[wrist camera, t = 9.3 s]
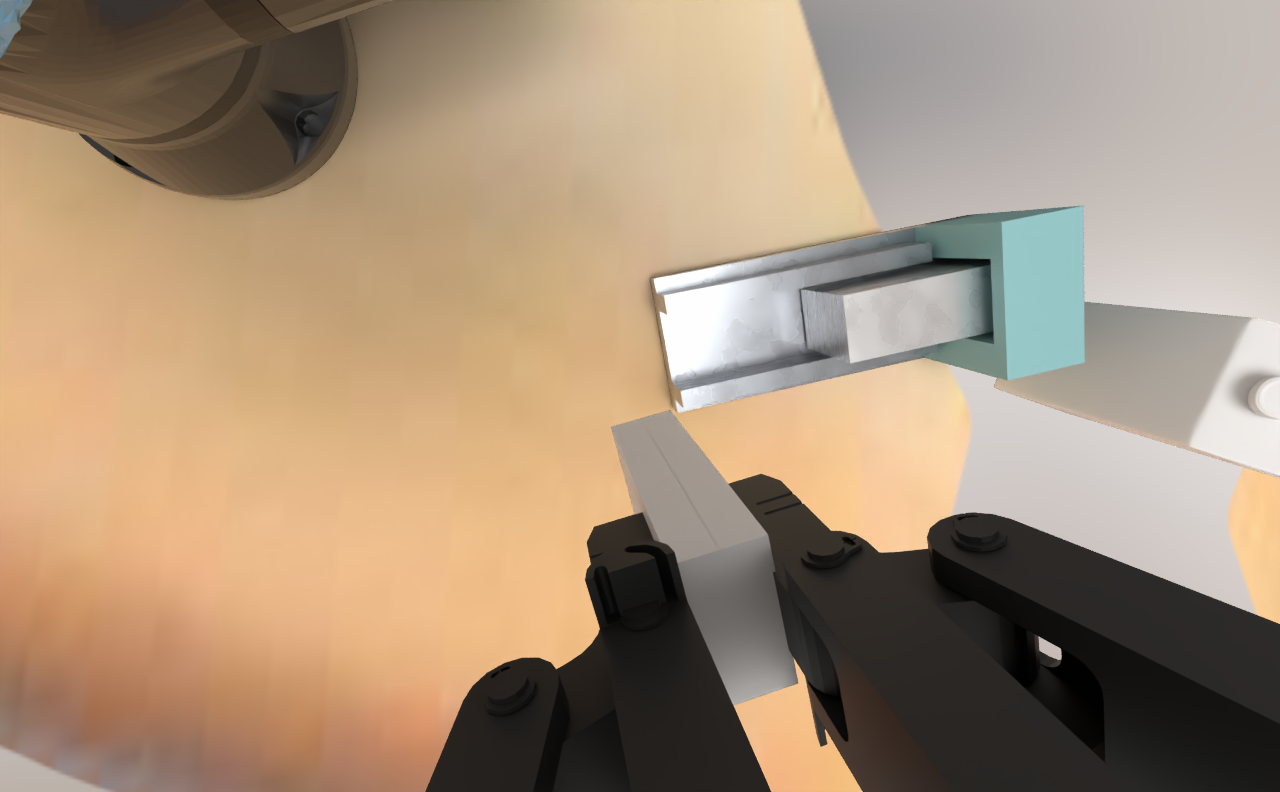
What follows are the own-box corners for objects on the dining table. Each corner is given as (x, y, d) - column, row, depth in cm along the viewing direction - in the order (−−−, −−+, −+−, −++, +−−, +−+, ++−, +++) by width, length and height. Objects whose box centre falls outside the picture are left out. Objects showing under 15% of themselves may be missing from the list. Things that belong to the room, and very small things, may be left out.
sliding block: (799, 287, 42) (843, 294, 36) (965, 253, 43) (1034, 254, 37) (807, 349, 43) (851, 365, 37) (968, 314, 44) (1036, 324, 38)
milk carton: (1105, 325, 48) (1453, 371, 30) (1065, 412, 49) (1377, 508, 31) (1030, 296, 47) (1349, 325, 28) (991, 387, 48) (1273, 471, 30)
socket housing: (914, 227, 42) (1001, 222, 35) (982, 213, 43) (1083, 205, 35) (924, 357, 45) (1007, 380, 37) (988, 343, 45) (1084, 362, 37)
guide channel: (650, 278, 42) (661, 281, 38) (968, 214, 44) (1009, 211, 41) (672, 407, 44) (686, 422, 40) (974, 340, 47) (1014, 348, 43)
